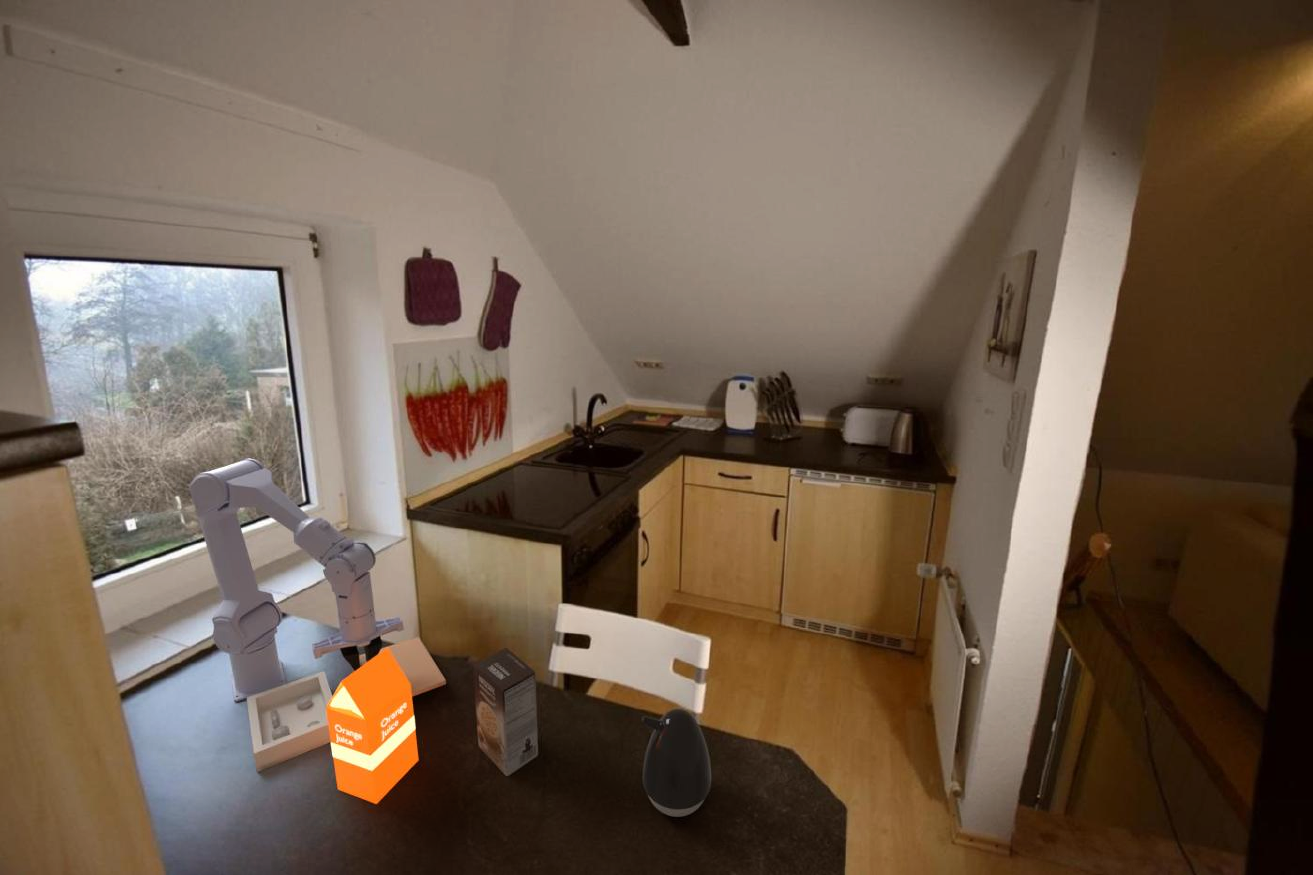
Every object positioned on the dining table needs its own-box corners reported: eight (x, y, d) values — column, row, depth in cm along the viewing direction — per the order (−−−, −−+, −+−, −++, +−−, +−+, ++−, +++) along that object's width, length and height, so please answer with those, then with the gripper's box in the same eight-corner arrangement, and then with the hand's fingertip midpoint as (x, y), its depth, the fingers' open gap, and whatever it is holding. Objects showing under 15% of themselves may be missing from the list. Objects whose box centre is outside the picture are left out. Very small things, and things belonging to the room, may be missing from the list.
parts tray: (249, 714, 100) (246, 697, 99) (326, 686, 107) (323, 671, 107) (257, 772, 88) (253, 753, 87) (342, 737, 95) (340, 719, 95)
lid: (349, 664, 110) (347, 642, 109) (418, 642, 118) (417, 621, 117) (370, 714, 97) (368, 690, 96) (446, 686, 105) (445, 663, 104)
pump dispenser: (642, 770, 90) (643, 688, 86) (707, 772, 89) (711, 690, 86) (638, 828, 80) (639, 738, 76) (712, 831, 79) (716, 741, 76)
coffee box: (476, 747, 94) (470, 663, 90) (509, 726, 98) (505, 646, 94) (506, 778, 88) (501, 690, 84) (540, 755, 92) (537, 670, 88)
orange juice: (419, 760, 91) (408, 651, 86) (376, 804, 83) (361, 688, 78) (381, 747, 93) (368, 641, 89) (336, 789, 85) (319, 675, 80)
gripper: (313, 635, 93) (323, 705, 96) (405, 606, 102) (412, 671, 105) (306, 616, 98) (316, 683, 102) (394, 591, 107) (401, 653, 110)
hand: (364, 676), depth 104 cm, fingers closed on lid
